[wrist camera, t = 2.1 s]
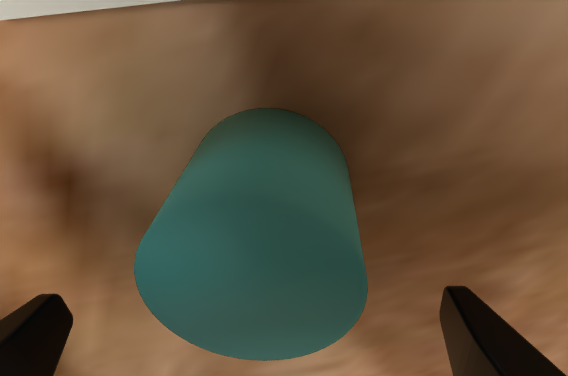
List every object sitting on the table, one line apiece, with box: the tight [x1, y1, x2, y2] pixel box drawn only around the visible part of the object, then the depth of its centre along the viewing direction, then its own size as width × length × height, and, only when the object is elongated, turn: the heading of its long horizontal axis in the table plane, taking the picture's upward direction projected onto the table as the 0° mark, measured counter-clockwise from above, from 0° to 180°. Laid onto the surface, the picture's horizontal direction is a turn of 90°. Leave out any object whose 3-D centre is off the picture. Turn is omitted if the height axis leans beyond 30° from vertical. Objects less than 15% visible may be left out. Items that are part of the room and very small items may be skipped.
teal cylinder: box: [134, 108, 368, 361], centre depth 11 cm, size 6×6×5 cm
